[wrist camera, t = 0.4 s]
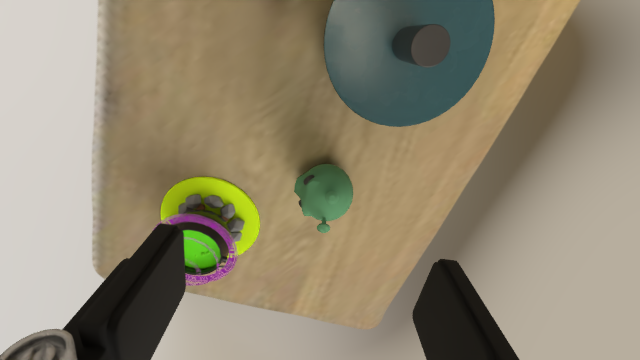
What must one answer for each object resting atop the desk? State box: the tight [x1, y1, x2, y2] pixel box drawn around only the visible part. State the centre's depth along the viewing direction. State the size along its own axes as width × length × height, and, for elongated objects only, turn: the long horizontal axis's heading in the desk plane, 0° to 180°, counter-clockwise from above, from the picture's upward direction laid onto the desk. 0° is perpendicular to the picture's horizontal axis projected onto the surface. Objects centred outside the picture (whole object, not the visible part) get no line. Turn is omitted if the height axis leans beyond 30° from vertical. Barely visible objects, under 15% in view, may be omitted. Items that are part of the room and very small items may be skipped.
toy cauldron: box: [154, 176, 260, 286], centre depth 41 cm, size 15×15×11 cm
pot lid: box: [324, 0, 495, 127], centre depth 25 cm, size 16×16×7 cm
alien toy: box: [294, 164, 353, 233], centre depth 38 cm, size 7×8×10 cm
